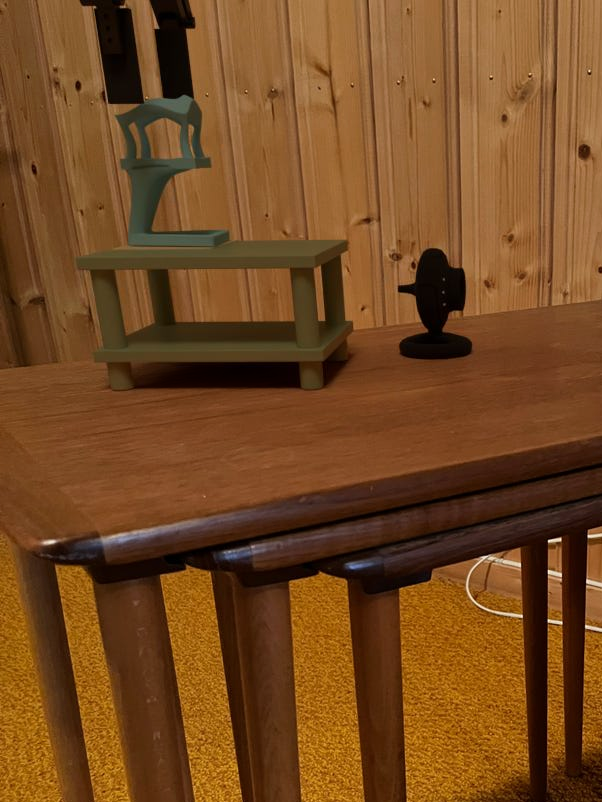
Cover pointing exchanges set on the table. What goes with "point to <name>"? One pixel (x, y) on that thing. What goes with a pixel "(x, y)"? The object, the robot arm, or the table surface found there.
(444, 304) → the webcam
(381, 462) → the table surface
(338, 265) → the shelf
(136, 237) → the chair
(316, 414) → the table surface
